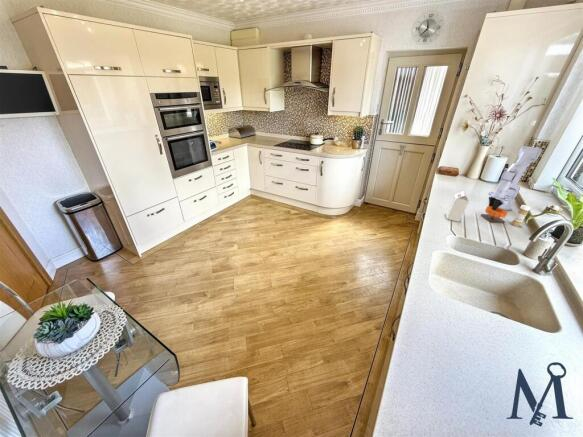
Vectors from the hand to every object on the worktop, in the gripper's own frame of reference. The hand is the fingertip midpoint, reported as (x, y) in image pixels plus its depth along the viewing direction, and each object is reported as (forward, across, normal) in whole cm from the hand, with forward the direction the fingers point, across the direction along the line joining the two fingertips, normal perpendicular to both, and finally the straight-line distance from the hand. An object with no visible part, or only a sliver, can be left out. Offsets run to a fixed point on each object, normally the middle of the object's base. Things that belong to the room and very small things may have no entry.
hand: (491, 208), depth 156 cm
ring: (+1, +4, 0) cm, 4 cm away
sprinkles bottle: (+6, +10, +10) cm, 16 cm away
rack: (+6, +4, 0) cm, 7 cm away
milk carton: (+6, +6, -28) cm, 29 cm away
